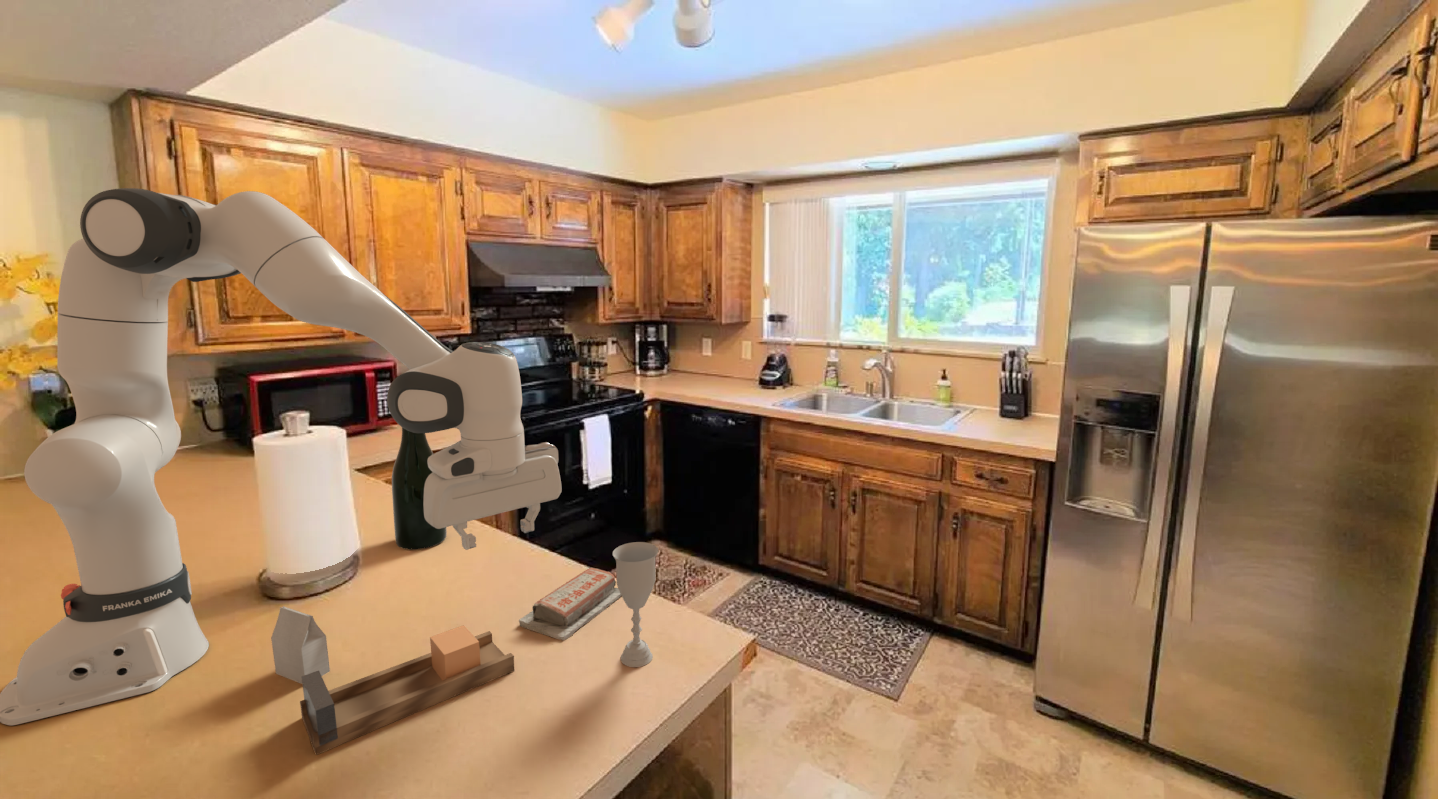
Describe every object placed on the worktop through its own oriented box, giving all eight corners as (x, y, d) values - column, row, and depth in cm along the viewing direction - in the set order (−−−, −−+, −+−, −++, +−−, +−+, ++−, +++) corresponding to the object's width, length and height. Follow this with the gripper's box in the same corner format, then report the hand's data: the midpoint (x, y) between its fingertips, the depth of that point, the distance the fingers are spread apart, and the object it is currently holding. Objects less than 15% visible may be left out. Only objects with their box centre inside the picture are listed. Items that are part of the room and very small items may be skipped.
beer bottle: (422, 554, 134) (410, 404, 128) (384, 547, 137) (371, 400, 131) (457, 536, 144) (447, 396, 138) (421, 529, 147) (410, 392, 141)
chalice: (638, 676, 94) (637, 566, 91) (604, 661, 98) (602, 554, 94) (667, 653, 100) (667, 548, 97) (634, 639, 104) (633, 538, 100)
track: (315, 755, 78) (313, 737, 77) (301, 717, 84) (299, 701, 84) (514, 670, 95) (513, 655, 95) (490, 644, 101) (489, 630, 101)
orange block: (446, 686, 90) (444, 654, 89) (432, 667, 94) (429, 637, 93) (481, 672, 93) (479, 641, 92) (465, 654, 97) (463, 625, 96)
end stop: (319, 746, 78) (315, 710, 77) (305, 709, 84) (301, 676, 83) (337, 738, 79) (334, 703, 78) (322, 703, 86) (318, 670, 85)
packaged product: (583, 561, 122) (625, 572, 118) (583, 584, 123) (625, 596, 119) (517, 602, 106) (563, 617, 102) (518, 628, 107) (563, 644, 103)
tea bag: (305, 685, 91) (298, 623, 89) (275, 673, 93) (267, 612, 92) (329, 671, 94) (323, 610, 92) (300, 660, 97) (293, 601, 95)
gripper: (547, 436, 102) (551, 516, 104) (415, 460, 88) (423, 551, 91) (567, 444, 97) (570, 527, 100) (431, 470, 83) (438, 566, 86)
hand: (499, 539), depth 95 cm, fingers open, 8 cm apart
